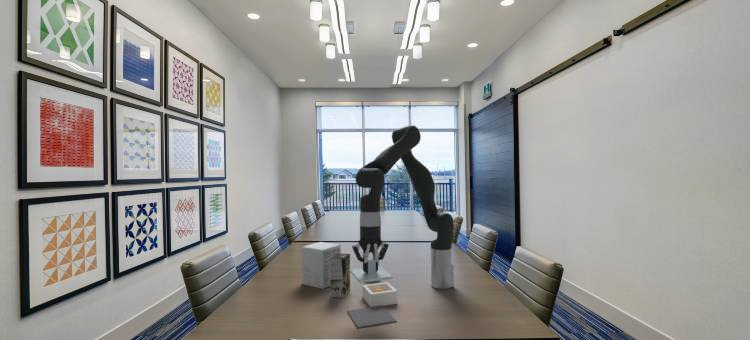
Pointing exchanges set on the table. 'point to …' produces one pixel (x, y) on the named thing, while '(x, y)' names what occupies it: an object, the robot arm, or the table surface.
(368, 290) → the dish
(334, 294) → the coffee box
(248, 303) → the table surface
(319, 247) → the supplement box
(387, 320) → the mat
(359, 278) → the lid
